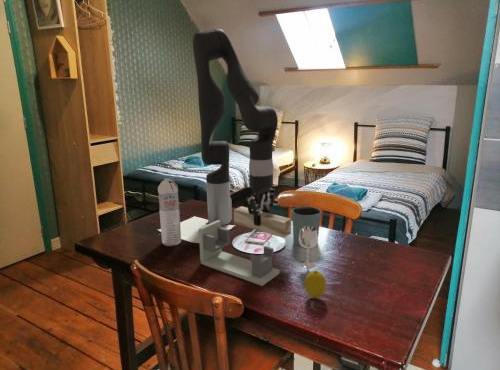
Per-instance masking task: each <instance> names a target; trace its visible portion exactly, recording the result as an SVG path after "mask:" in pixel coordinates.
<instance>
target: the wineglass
mask: <svg viewBox="0 0 500 370" xmlns="http://www.w3.org/2000/svg"><path fill="white" fill-rule="evenodd" d="M318 237H319V235H318V236H317V231H316V228H315V227H311V226H304V227H302V228H301V230H300V234H299V243H300V245H301V246H302V247H301V248H303V249H306V250H305V251H306V260H305V261H302V262H300V266H301V267H303V268H305V269H309V268H310V269H312V268H314V267H315V266H316V265H315V263H314V262H313V261H309V254H310V252H311V251H310V249H314V248H315V247H316V246H317V245H318V243H319V242H318V241H319V238H318ZM317 242H318V243H317Z"/></svg>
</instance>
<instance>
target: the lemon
mask: <svg viewBox="0 0 500 370" xmlns="http://www.w3.org/2000/svg"><path fill="white" fill-rule="evenodd" d="M304 279H305V280H304V289H305V292H306V293H307V295H308V296H310V297H311V298H313V299H316V298H320V297H321V296H323V295H324V294H325V291H326V288H327V287H326V286H327V281H326V278H325V276H324V274H323V273H322V272H320V271H319V270H312V271H310V272H308V273H307V275H306V276H305V278H304Z"/></svg>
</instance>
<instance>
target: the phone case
mask: <svg viewBox="0 0 500 370" xmlns="http://www.w3.org/2000/svg"><path fill="white" fill-rule="evenodd" d="M256 231H257V230H255V229H253V230H252V231H251V232H250V234H248V236H246V237H245V239H244V243H247V242H252V243H251V244H254V243H258V244H257V245H262V244H263V245H265V244H266V243H267V242H266V241H268V240H269V239H270V238H269V237H272V234H269V233H268V234H269V235H267V237H266V238H265V239H264V240H263V241H257V240H249V237H251V236H253V234H254V233H255V232H256ZM250 235H251V236H250ZM268 238H269V239H268ZM265 242H266V243H265ZM264 243H265V244H264Z"/></svg>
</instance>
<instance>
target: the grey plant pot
mask: <svg viewBox="0 0 500 370" xmlns="http://www.w3.org/2000/svg"><path fill="white" fill-rule="evenodd" d="M321 216H322V210H321V209H319V208H318V207H315V206H308V205H307V206H306V205H305V206H297V207H293V208H292V209H291V222H292V232H293V233H292V235H293V238H292V240H293V244H294V245H295V246H297V247H300V248H303V247H302V246H301V245H300V243H299V234H300V230H301V228H302V227H304V226H311V227H315V228H316V231H317V236H318V237H319V233H320V232H319V231H320V222H321ZM318 243H319V242H317V244H318Z"/></svg>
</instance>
